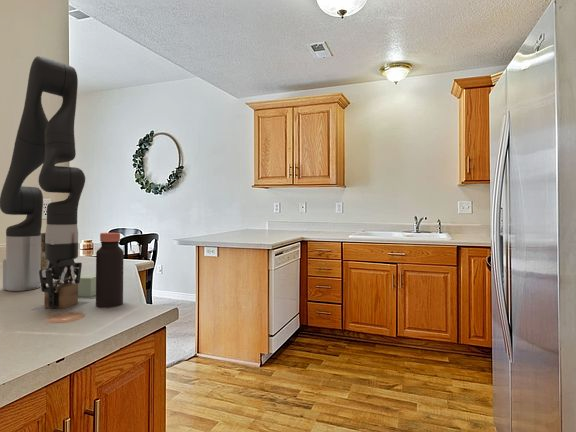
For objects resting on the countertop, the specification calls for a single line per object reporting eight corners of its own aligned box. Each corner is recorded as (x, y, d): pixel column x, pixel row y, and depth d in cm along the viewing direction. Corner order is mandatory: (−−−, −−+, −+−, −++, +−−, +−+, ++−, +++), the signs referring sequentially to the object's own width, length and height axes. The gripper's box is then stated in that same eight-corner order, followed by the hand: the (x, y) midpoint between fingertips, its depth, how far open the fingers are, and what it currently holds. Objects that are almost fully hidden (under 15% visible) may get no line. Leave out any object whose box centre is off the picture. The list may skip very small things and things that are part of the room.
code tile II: (60, 299, 108) (60, 297, 108) (81, 291, 118) (81, 290, 118) (93, 300, 107) (93, 299, 107) (112, 292, 117) (112, 291, 117)
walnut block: (44, 307, 97) (44, 287, 97) (58, 302, 102) (58, 282, 102) (64, 308, 96) (64, 287, 96) (77, 303, 102) (78, 283, 102)
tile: (29, 311, 95) (29, 310, 95) (56, 302, 105) (56, 300, 105) (67, 313, 94) (67, 311, 94) (90, 303, 104) (90, 301, 104)
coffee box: (66, 272, 152) (66, 232, 152) (49, 274, 147) (49, 233, 146) (55, 269, 157) (55, 231, 157) (38, 271, 151) (38, 232, 151)
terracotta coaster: (37, 323, 85) (37, 321, 85) (60, 314, 93) (60, 311, 93) (70, 325, 85) (70, 322, 85) (91, 315, 93) (91, 312, 93)
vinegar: (90, 306, 101) (91, 233, 101) (114, 301, 106) (115, 232, 106) (103, 310, 97) (104, 234, 97) (128, 305, 103) (128, 233, 102)
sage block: (72, 296, 110) (72, 277, 110) (84, 292, 115) (84, 274, 115) (90, 297, 110) (90, 278, 109) (101, 292, 115) (101, 275, 115)
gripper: (66, 238, 106) (65, 297, 107) (28, 243, 92) (27, 311, 92) (91, 239, 106) (90, 298, 106) (57, 244, 92) (56, 312, 92)
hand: (61, 303), depth 99 cm, fingers closed on walnut block, 5 cm apart
